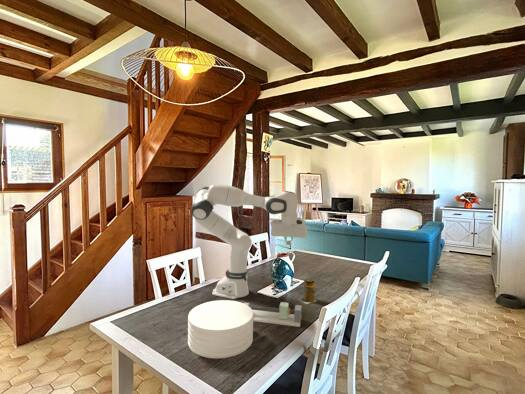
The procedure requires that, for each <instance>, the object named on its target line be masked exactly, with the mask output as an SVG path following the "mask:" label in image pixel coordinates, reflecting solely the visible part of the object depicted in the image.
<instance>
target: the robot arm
mask: <svg viewBox="0 0 525 394" xmlns="http://www.w3.org/2000/svg"><path fill="white" fill-rule="evenodd" d="M216 205H223V206H227V207H233V208H234V207H235V208H238V207H242V206H253V207H258V208H262V209H264V210H265V211H266V212H268V213H269V214H270V215H279V214H281V217H280V218H281V219H273V220H271V221H270V227H271V229H270V235H271V236H272V237H283V239H284V241H285V244H286V245H288V246H291V245H292V241H293V240H294V238H305V239H306V238H307V237H308V228H307V225H306V220H305V219H304V218H301V217H298V211H297V210H298V196H297V194H296V193H295V192H293V191H289V190H288V191H287V190H283V191H282V192H281V193H279V194H277V195H269V196H260V195H255V194H252V193H249V192H246V191H244V190H243V189H241V188H238V187H236V186H232V185H228V184H219V183H217V184H215V183H213V184H211V185H210V186H202V187H201V188H200V189H198V191H197V192H196V194H195V196H194V198H193V203H192V205H191V208H190V209H191V210H190V212H191V216H192V217H193V218H194V220H195V222H196V223H198V224H199V225H200V227H202V228H204V230H206V231H208V232H209V233H210V234H212V235H213V236H215V237H217V238H218V239H220V240H222V241H223V242H225V243H227V244H228V245H229V246H231V251H230V255H229V258H228V268H227V269H226V271H225V273H224V275H225V276H224V277H222V278H221V279H220V280H219V281H217V284H216V286H215V288H214V289H213V290H212V293H211V294H212V295H213V296H217V297H222V298H225V299H226V298H227V299H230V300H231V299H232V300H235V299H238V298H244V297H247V296H248V295H249V293H250V292H249V287H248V275H249V274H248V268H247V267H248V254H249V250H250V248H251V246H252V239H251V237H250V235H249V234H248V233H246V232H244V231H242V230H240V229H239V228H237V227H236V226H235V225H233V224H232V223H231V222H229V221H228V220H227V219H225V218H223V217H222V216H221V215H219V214H218V213H216V212H215V211H213V210H214V206H216ZM288 237H289V238H290V240H288ZM286 245H285V246H286Z"/></svg>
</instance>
